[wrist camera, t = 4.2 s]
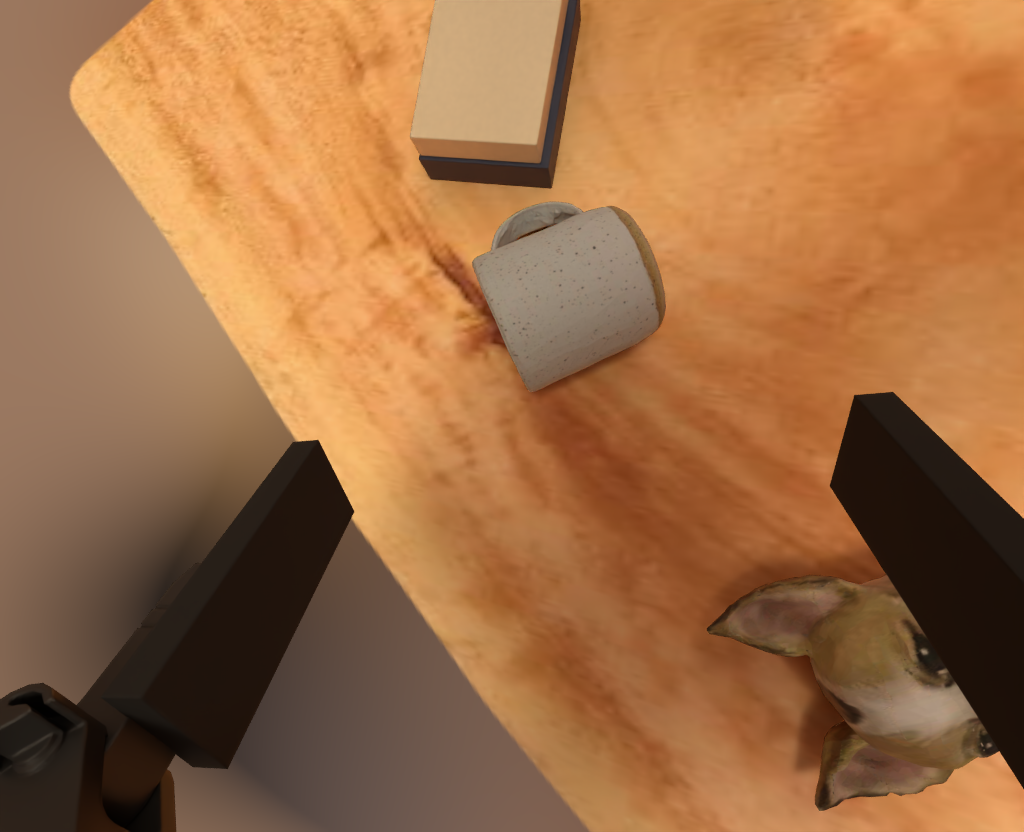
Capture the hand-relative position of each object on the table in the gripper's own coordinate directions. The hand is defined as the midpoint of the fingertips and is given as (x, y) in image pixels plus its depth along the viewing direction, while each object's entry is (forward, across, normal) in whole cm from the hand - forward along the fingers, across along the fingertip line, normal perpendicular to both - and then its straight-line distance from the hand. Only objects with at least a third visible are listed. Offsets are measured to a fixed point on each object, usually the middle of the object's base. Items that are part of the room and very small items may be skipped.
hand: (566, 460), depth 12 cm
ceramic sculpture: (+6, +14, -18) cm, 24 cm away
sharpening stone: (+27, -3, +8) cm, 28 cm away
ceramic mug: (+19, -1, -3) cm, 19 cm away
